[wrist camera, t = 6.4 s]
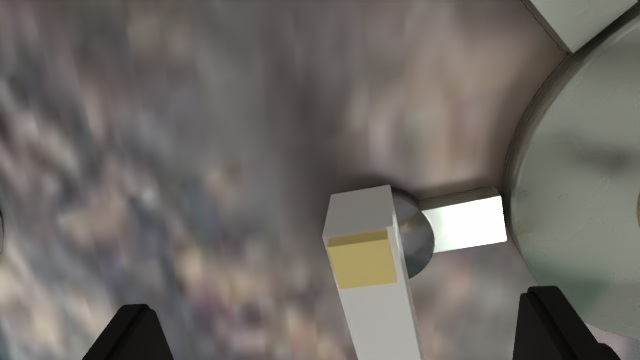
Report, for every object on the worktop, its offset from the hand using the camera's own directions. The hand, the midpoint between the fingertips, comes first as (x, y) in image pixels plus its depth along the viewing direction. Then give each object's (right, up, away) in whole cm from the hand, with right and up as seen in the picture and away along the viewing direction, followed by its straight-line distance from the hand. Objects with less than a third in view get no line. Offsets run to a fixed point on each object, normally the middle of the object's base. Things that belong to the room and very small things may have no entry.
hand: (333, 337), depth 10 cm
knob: (+3, +1, +8) cm, 9 cm away
